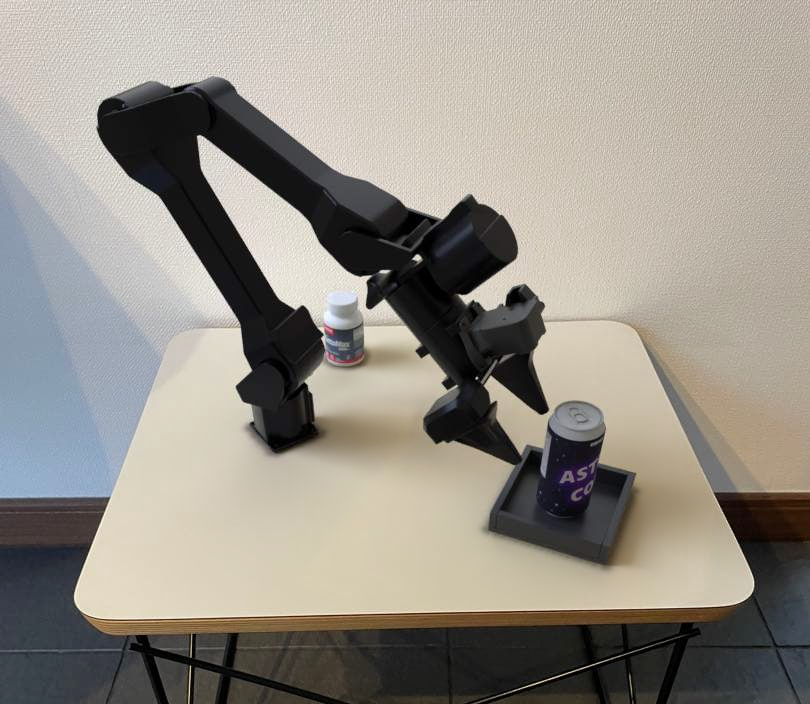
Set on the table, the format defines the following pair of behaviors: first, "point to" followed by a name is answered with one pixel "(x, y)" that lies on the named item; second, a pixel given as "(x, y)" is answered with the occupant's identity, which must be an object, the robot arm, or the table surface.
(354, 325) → the pill bottle
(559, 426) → the beverage can
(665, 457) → the table surface
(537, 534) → the square tray
